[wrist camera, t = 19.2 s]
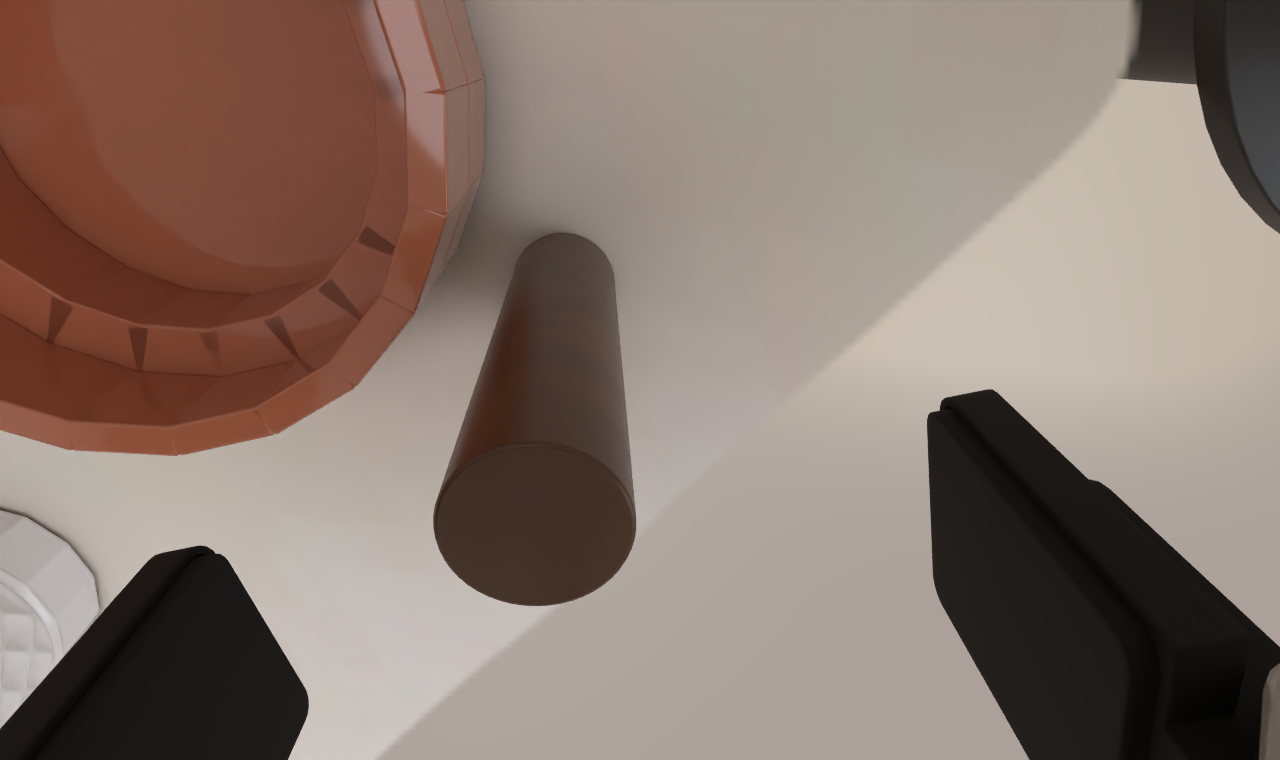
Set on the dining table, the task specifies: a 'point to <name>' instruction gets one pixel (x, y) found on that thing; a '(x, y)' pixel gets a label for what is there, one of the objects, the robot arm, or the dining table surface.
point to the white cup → (38, 606)
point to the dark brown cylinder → (544, 439)
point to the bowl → (221, 207)
